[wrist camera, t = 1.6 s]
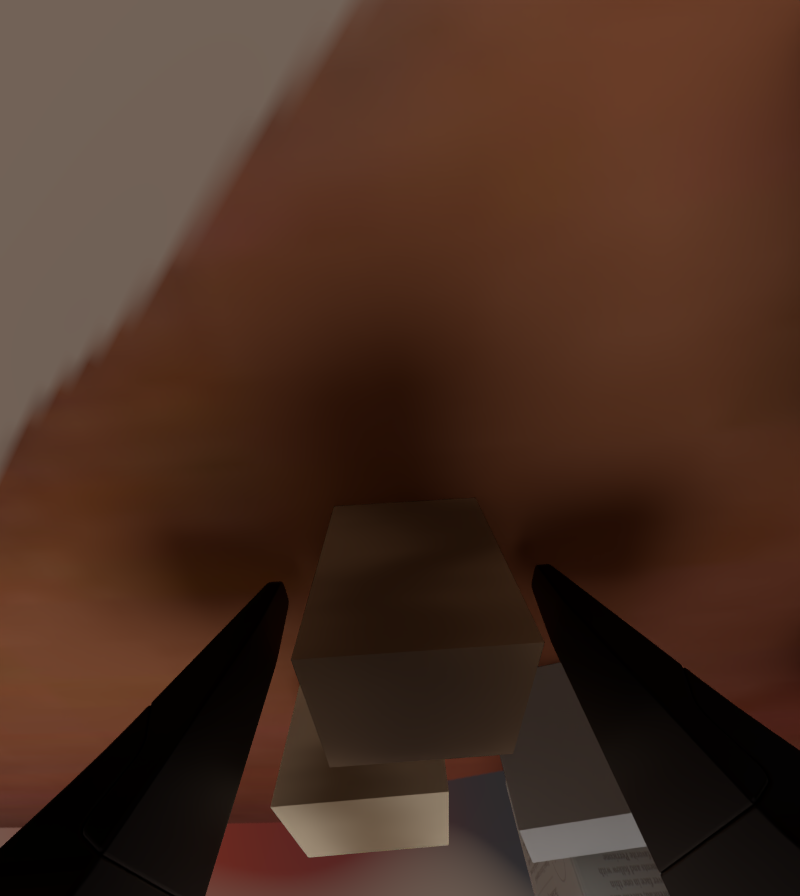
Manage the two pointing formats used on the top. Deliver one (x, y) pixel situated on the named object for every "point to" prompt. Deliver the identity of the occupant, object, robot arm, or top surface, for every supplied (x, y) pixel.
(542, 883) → the small box
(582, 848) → the grey cube
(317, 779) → the maple block
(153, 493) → the top surface
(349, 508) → the walnut cube
